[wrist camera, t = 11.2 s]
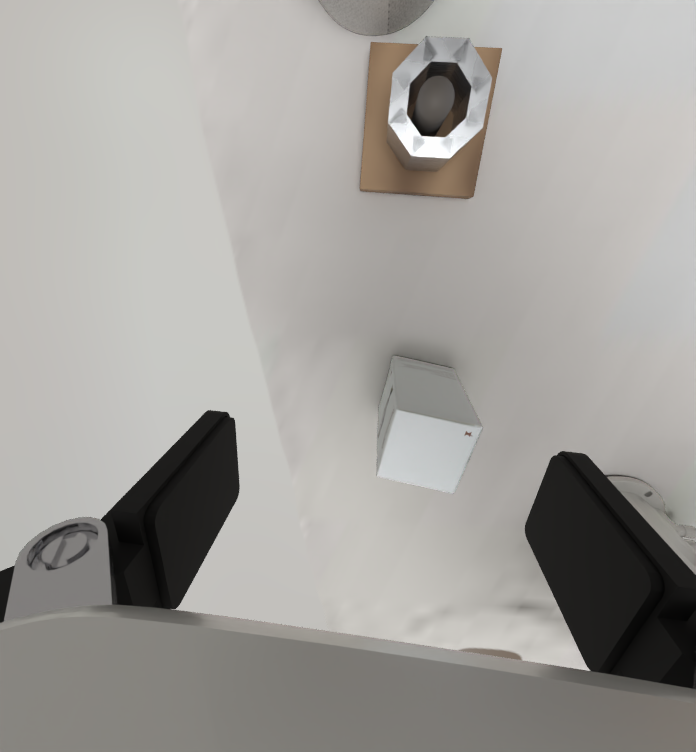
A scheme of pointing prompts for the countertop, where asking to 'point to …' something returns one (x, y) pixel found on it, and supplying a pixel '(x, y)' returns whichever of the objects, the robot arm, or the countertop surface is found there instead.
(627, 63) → the countertop surface
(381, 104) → the shaft block
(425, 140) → the hub
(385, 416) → the supplement box
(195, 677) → the robot arm
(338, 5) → the toilet paper roll
